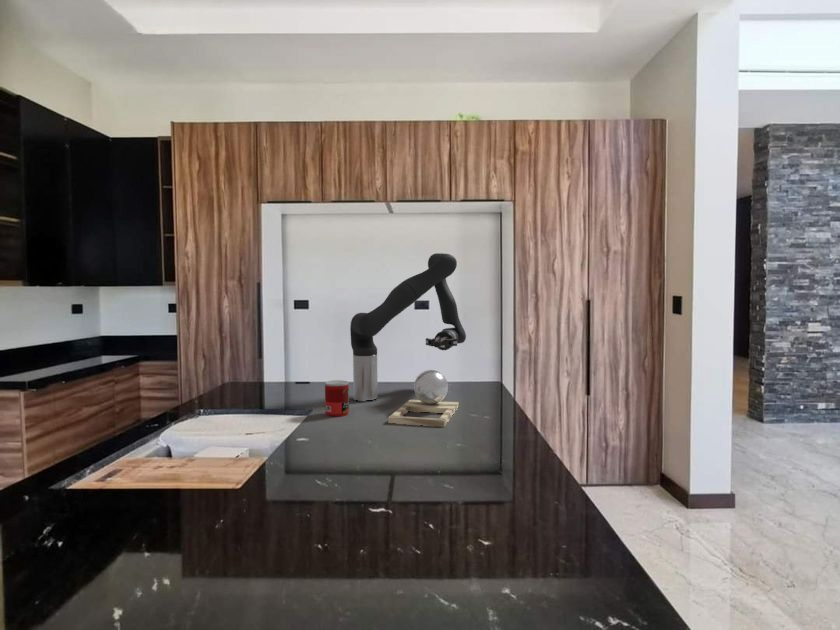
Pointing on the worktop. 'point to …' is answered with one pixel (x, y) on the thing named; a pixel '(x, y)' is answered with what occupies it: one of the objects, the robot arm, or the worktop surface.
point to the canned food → (336, 398)
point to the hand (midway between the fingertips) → (436, 344)
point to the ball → (431, 387)
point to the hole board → (419, 406)
